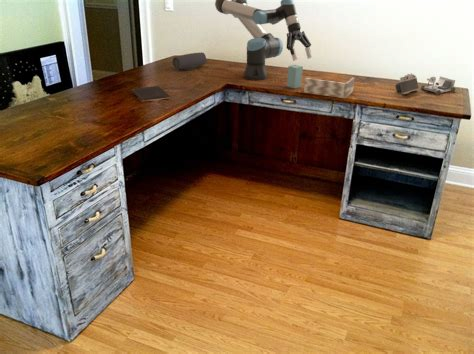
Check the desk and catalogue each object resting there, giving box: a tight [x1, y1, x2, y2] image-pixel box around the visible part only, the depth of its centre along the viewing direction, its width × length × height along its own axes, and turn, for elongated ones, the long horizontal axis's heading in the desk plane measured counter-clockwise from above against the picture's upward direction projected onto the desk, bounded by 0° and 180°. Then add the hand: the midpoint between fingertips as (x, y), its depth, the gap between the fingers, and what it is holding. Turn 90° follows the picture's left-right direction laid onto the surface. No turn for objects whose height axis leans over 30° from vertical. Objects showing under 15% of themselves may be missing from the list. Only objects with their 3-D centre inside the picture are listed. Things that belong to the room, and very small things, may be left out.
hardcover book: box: [130, 85, 171, 101], centre depth 240 cm, size 16×23×2 cm
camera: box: [395, 72, 420, 95], centre depth 249 cm, size 9×16×10 cm, turn 134°
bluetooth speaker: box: [172, 52, 207, 71], centre depth 296 cm, size 23×9×10 cm, turn 133°
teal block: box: [286, 64, 304, 89], centre depth 256 cm, size 6×6×12 cm
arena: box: [303, 76, 356, 99], centre depth 248 cm, size 24×16×8 cm, turn 62°
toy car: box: [420, 76, 456, 96], centre depth 251 cm, size 18×10×12 cm
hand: (302, 59), depth 261 cm, fingers open, 13 cm apart
